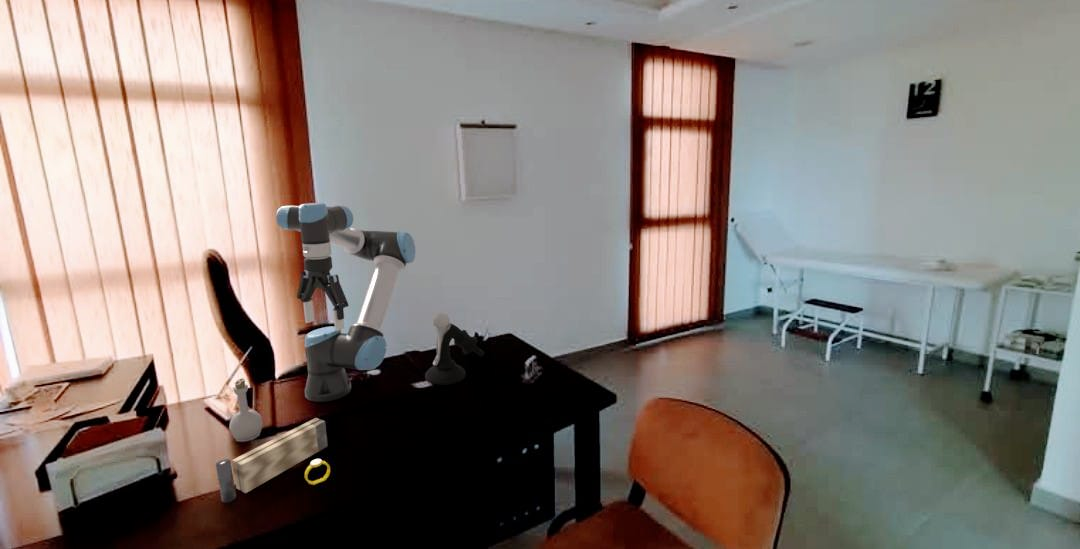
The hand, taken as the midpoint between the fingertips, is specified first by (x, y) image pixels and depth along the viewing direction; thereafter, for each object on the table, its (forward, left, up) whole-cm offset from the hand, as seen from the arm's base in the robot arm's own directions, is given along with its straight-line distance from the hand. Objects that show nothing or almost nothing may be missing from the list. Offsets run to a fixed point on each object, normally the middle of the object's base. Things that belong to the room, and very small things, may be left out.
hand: (324, 325), depth 154 cm
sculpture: (+11, +47, -32) cm, 58 cm away
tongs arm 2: (+10, -23, -31) cm, 40 cm away
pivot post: (+9, -38, -32) cm, 50 cm away
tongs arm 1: (+8, -23, -31) cm, 40 cm away
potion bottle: (-15, -19, -32) cm, 40 cm away
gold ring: (+22, -22, -32) cm, 45 cm away
